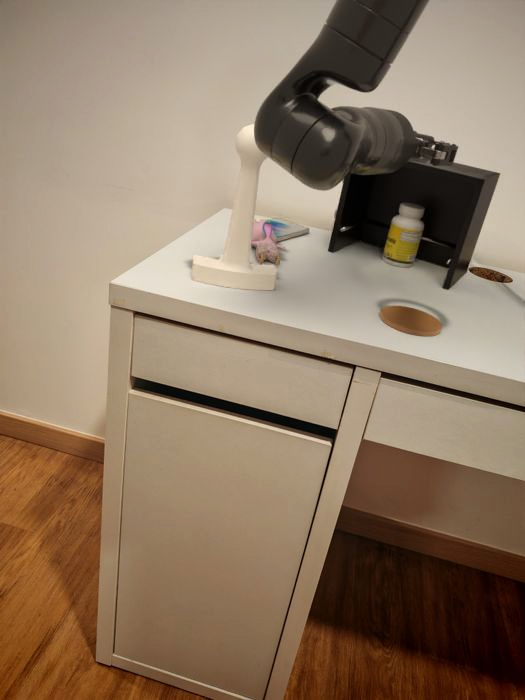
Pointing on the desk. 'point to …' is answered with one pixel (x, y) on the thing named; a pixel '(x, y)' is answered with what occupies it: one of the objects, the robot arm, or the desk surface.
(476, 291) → the desk surface
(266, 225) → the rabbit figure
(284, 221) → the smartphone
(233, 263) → the joystick
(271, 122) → the robot arm
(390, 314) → the cork trivet
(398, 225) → the supplement bottle
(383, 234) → the black open shelf
